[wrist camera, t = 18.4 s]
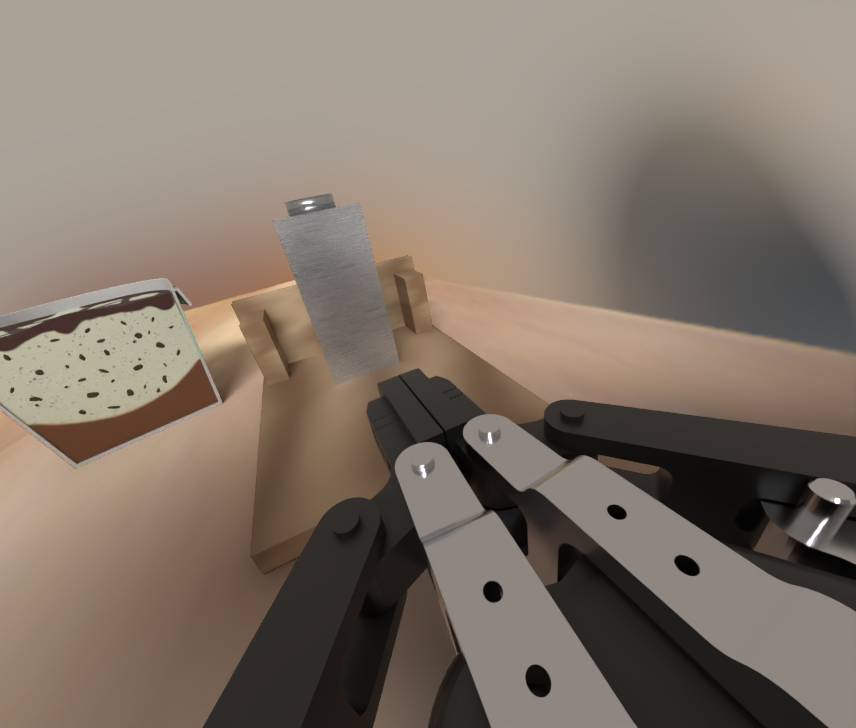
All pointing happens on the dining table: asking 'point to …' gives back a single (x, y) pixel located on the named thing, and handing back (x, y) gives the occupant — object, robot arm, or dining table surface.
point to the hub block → (338, 285)
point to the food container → (103, 369)
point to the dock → (343, 406)
